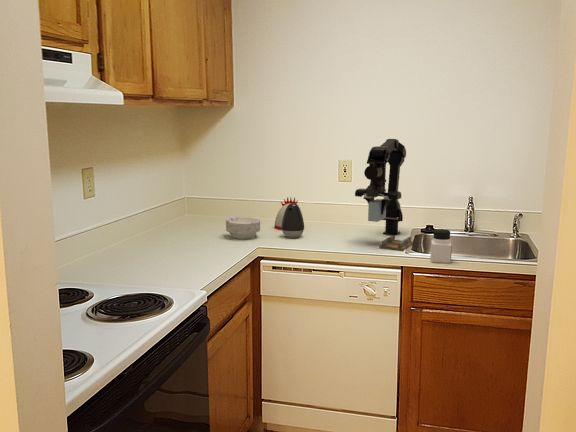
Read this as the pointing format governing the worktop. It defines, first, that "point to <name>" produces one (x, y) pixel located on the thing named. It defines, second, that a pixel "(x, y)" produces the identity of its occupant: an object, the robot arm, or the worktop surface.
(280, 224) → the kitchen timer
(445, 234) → the medicine bottle
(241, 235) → the grey stone bowl
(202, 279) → the worktop surface
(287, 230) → the black grey egg shape
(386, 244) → the track board
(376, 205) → the blue grey block
